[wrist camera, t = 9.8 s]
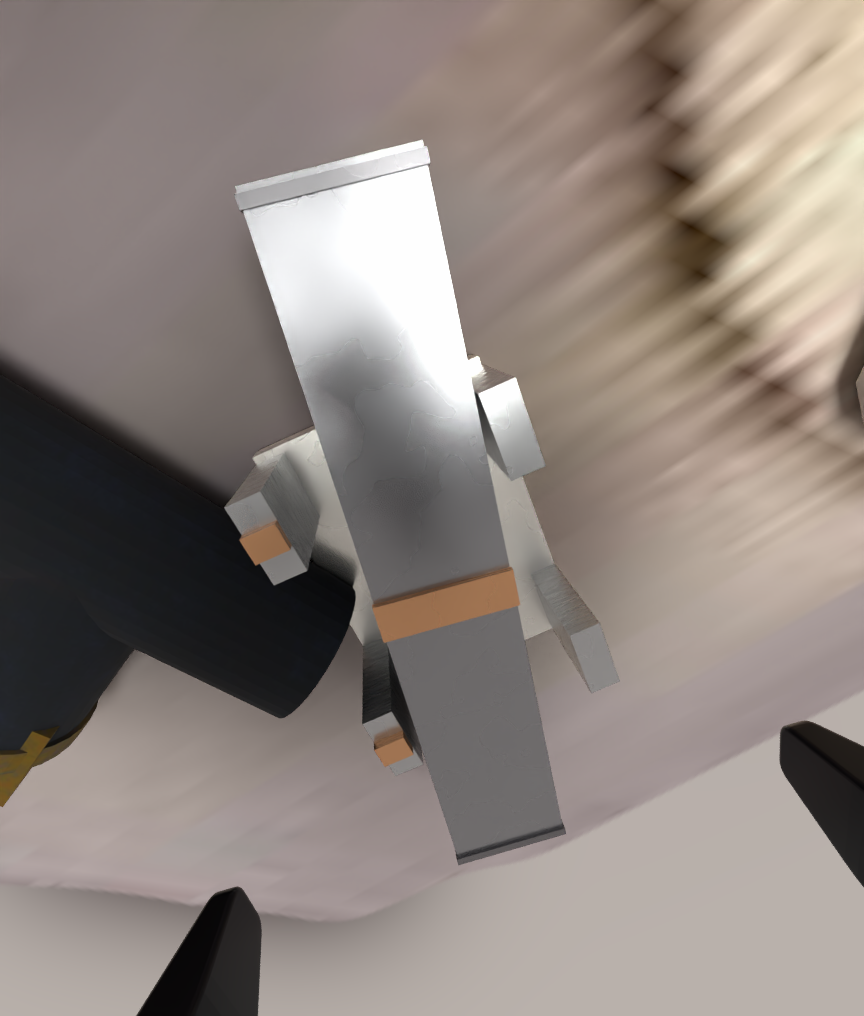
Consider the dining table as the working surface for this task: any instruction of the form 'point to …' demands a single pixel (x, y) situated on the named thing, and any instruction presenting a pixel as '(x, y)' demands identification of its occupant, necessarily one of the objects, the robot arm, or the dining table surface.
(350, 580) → the collar rail
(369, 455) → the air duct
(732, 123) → the dining table surface
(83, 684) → the pipe connector
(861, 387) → the tube
